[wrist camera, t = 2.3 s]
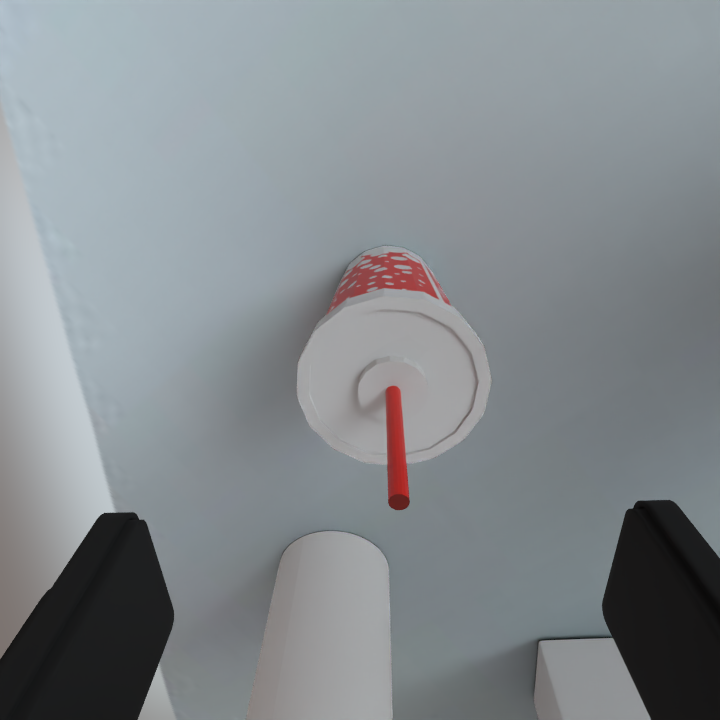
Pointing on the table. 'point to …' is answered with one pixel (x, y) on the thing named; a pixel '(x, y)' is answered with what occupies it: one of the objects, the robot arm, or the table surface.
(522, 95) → the table surface
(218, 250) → the table surface
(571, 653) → the milk carton
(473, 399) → the beverage cup
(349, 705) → the cylindrical container
